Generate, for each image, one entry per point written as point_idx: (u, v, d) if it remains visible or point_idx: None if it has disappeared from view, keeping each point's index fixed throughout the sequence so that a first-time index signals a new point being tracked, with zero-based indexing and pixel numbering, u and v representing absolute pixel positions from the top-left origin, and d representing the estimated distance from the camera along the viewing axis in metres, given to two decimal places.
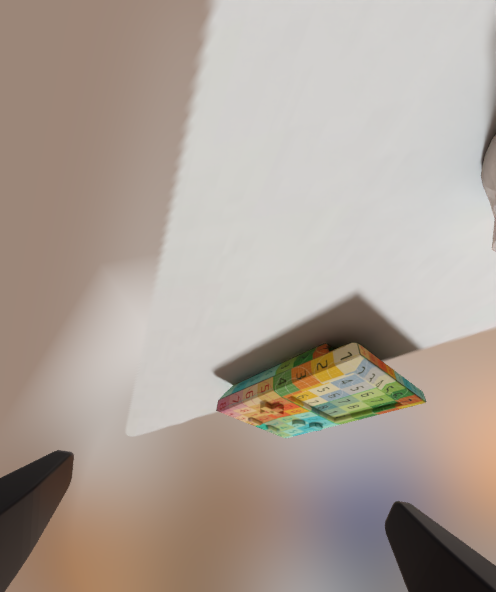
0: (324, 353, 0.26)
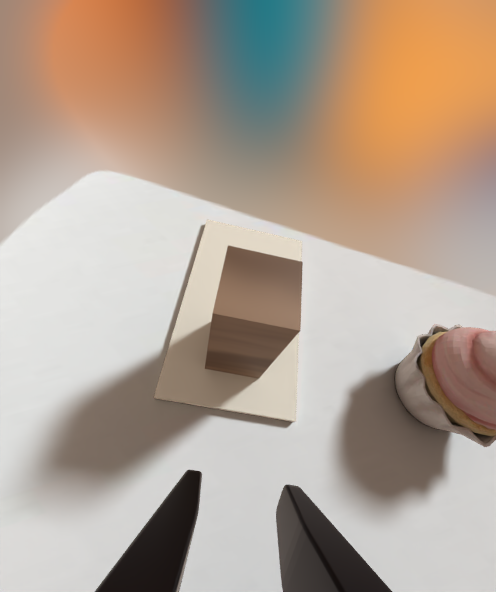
0: None
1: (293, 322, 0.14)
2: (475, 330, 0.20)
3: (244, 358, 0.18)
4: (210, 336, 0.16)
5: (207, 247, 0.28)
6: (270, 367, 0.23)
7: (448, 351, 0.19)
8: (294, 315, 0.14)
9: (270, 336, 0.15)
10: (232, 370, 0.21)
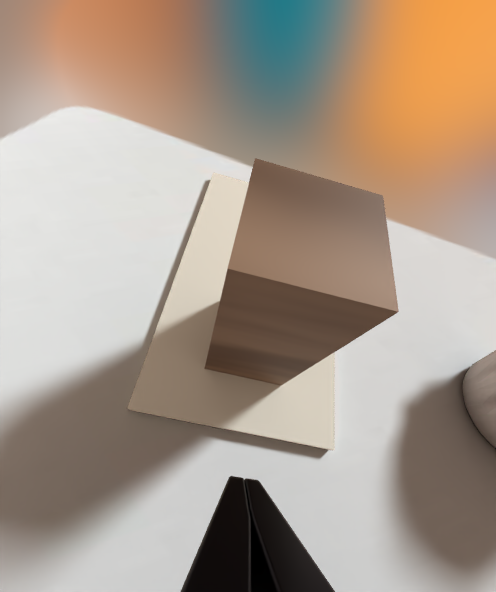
0: None
1: (383, 295, 0.07)
2: None
3: (268, 357, 0.12)
4: (218, 319, 0.09)
5: (213, 206, 0.21)
6: None
7: None
8: (383, 282, 0.07)
9: (329, 321, 0.08)
10: (244, 373, 0.15)
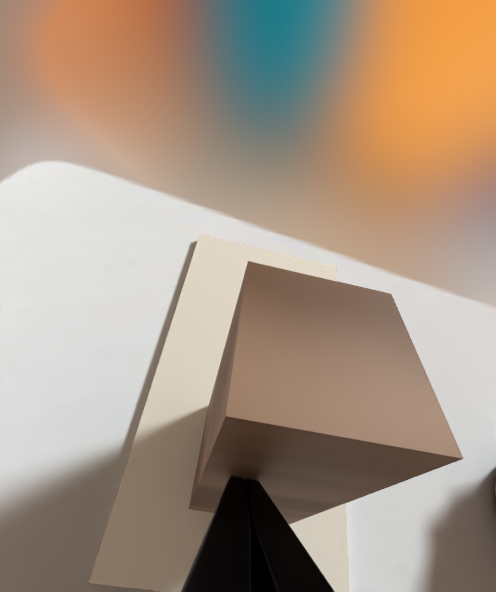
0: None
1: (436, 433, 0.05)
2: None
3: (275, 499, 0.09)
4: (209, 464, 0.07)
5: (199, 278, 0.19)
6: None
7: None
8: (429, 412, 0.06)
9: (364, 467, 0.06)
10: None
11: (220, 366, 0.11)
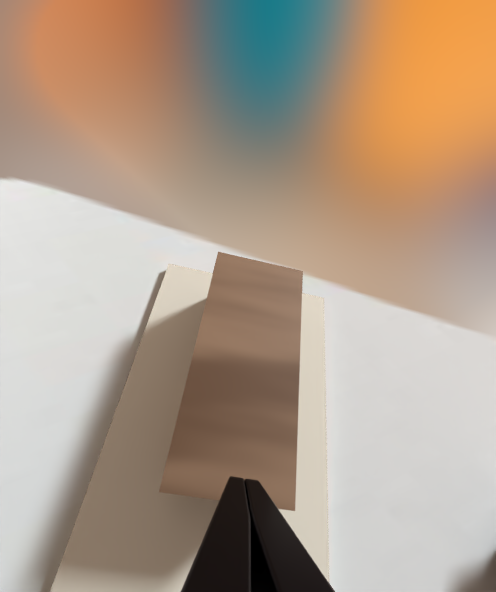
0: None
1: None
2: None
3: (253, 373, 0.11)
4: (207, 303, 0.12)
5: (165, 317, 0.16)
6: None
7: None
8: None
9: (278, 287, 0.13)
10: (229, 472, 0.09)
11: None
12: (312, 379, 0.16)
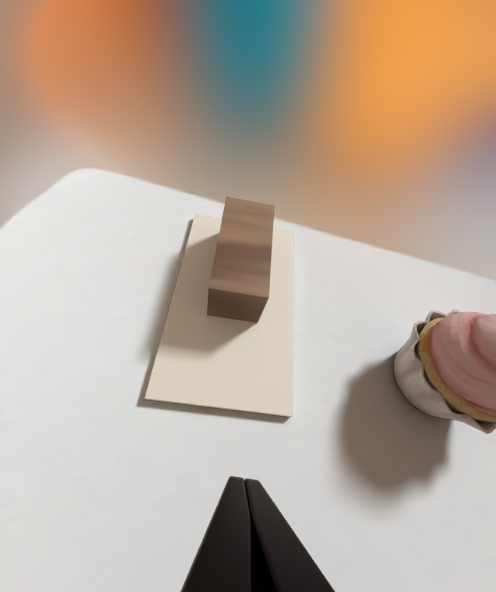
0: None
1: None
2: (473, 314, 0.20)
3: (248, 249, 0.22)
4: (222, 220, 0.23)
5: (196, 242, 0.27)
6: (265, 362, 0.22)
7: (446, 337, 0.19)
8: None
9: (260, 213, 0.24)
10: (238, 283, 0.20)
11: None
12: (285, 274, 0.27)
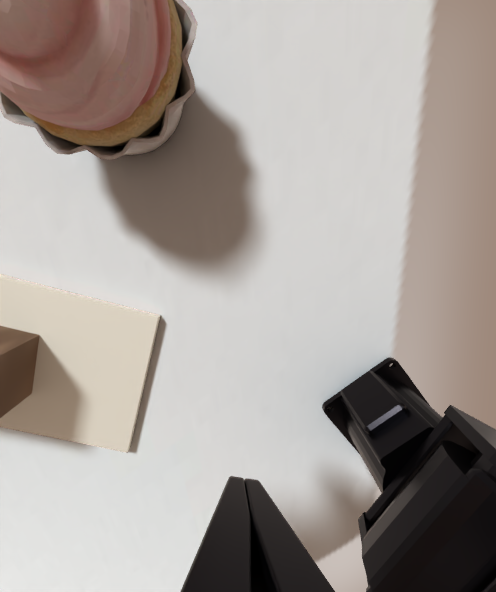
0: None
1: None
2: None
3: None
4: None
5: None
6: (94, 335, 0.18)
7: (14, 97, 0.10)
8: None
9: None
10: None
11: None
12: None
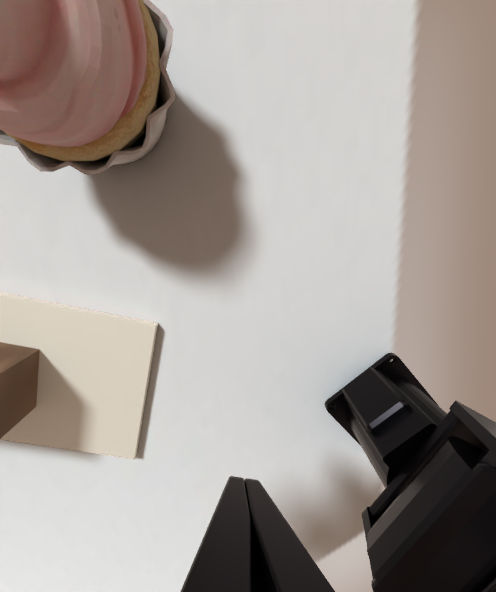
0: None
1: None
2: None
3: None
4: None
5: None
6: (93, 347, 0.18)
7: None
8: None
9: None
10: None
11: None
12: None
